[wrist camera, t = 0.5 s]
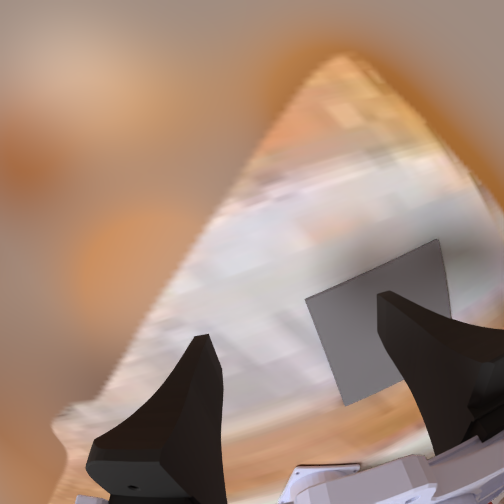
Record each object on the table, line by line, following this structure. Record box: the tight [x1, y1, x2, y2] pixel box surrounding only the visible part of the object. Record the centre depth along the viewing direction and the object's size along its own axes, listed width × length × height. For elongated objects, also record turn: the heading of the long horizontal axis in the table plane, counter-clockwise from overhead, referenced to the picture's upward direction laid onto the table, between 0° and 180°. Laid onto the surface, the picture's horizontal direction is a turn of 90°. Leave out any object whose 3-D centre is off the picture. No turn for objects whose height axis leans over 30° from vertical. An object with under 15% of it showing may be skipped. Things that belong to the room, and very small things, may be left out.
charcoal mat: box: [305, 239, 451, 406], centre depth 25 cm, size 12×12×1 cm
